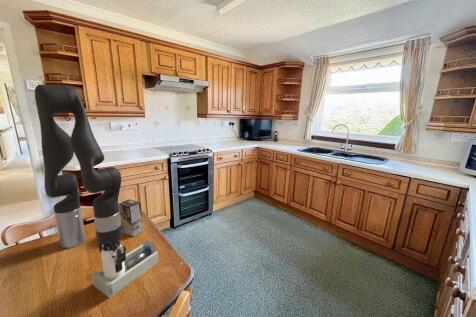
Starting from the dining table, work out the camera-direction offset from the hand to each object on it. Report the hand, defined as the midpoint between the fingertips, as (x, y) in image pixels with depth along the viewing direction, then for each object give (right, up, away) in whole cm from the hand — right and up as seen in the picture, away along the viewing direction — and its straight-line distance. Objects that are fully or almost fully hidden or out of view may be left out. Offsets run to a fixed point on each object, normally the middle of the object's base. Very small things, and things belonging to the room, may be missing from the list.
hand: (113, 267), depth 73 cm
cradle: (+2, -5, +6) cm, 8 cm away
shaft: (+5, -3, +10) cm, 11 cm away
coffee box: (-10, +1, +33) cm, 34 cm away
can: (0, -3, +1) cm, 3 cm away
